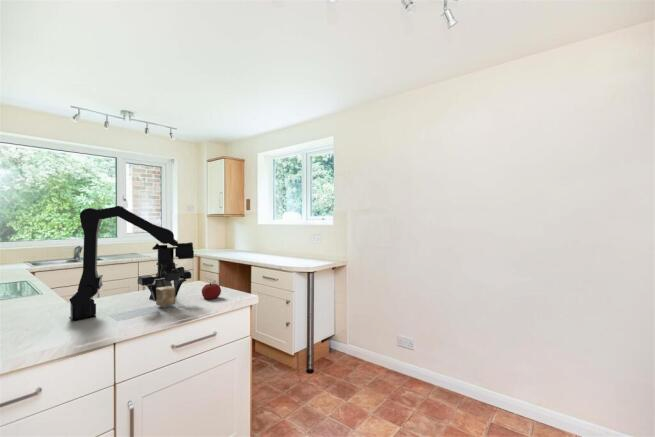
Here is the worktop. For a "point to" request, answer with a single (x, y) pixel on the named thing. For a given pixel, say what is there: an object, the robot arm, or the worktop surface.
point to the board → (143, 311)
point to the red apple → (211, 291)
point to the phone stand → (161, 285)
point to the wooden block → (165, 296)
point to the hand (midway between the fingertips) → (165, 298)
